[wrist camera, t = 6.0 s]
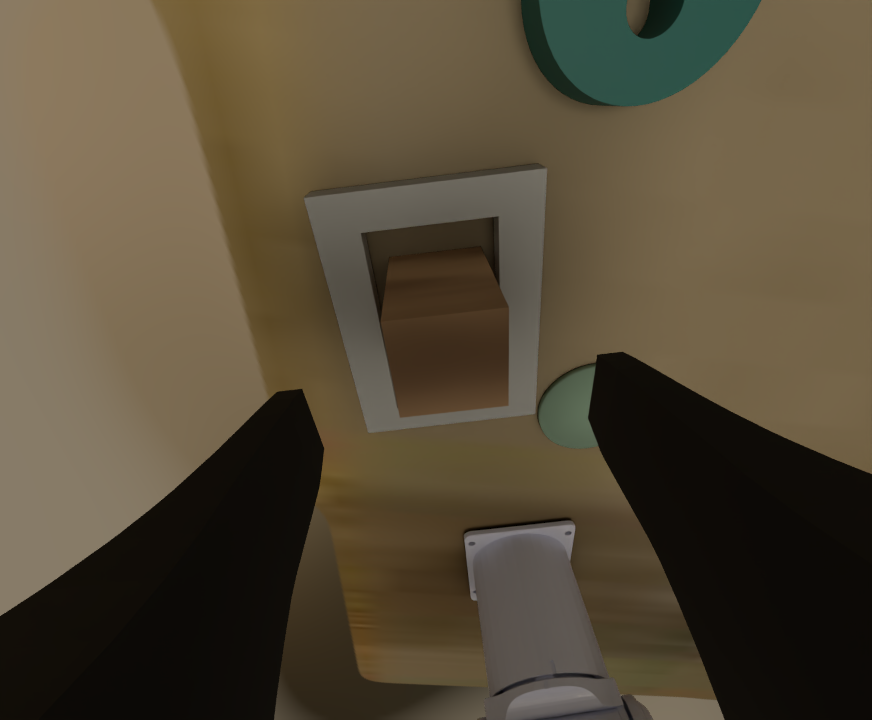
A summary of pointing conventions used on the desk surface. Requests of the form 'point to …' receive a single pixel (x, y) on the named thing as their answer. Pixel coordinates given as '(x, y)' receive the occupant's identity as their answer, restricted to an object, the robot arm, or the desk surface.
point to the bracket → (630, 46)
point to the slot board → (424, 205)
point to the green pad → (569, 409)
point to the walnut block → (446, 332)
